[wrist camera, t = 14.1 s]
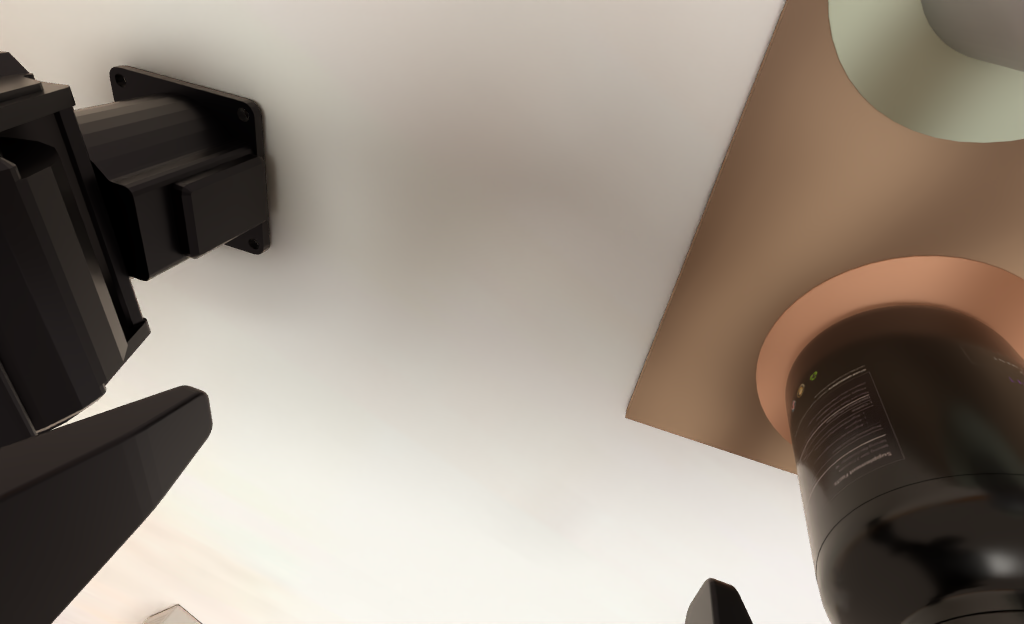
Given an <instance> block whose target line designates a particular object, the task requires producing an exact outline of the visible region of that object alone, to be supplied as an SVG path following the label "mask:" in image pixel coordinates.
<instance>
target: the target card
mask: <svg viewBox="0 0 1024 624" xmlns="http://www.w3.org/2000/svg"><path fill="white" fill-rule="evenodd" d="M898 305H923V306H932V307H939V308H944V309H949V310H952V311H956V312H959V313H962V314H964V315H967V316H969V317H972V318H974V319H976V320H978V321H980V322H982V323H984V324H986V325H987V326H989V327H990V328H992V329H993V330H994V331H996V332H997V333H998V334H999V335H1001V336H1002V337H1003V338H1004V339H1005V340H1006V341H1007V342H1008V343H1009V344H1010V345H1011V346H1012V347H1013V348H1014V349H1015V350H1016V352H1017V353H1018V354H1019V355H1020V356H1021V357H1022V358H1023V359H1024V72H1021V71H1018V70H1014V69H1010V68H1007V67H1003V66H999V65H996V64H992V63H989V62H985V61H981V60H978V59H974V58H971V57H968V56H965V55H963V54H961V53H959V52H957V51H955V50H954V49H952V48H951V47H949V46H948V45H946V44H945V43H944V42H943V41H942V40H941V39H940V38H939V37H938V36H937V35H936V33H935V32H934V31H933V29H932V28H931V26H930V25H929V23H928V20H927V18H926V16H925V14H924V11H923V7H922V3H921V0H786V3H785V5H784V8H783V10H782V13H781V15H780V18H779V20H778V23H777V26H776V28H775V31H774V33H773V36H772V38H771V41H770V44H769V46H768V49H767V51H766V54H765V56H764V59H763V62H762V64H761V67H760V69H759V72H758V74H757V77H756V79H755V82H754V85H753V87H752V90H751V92H750V95H749V97H748V100H747V103H746V105H745V108H744V110H743V113H742V115H741V118H740V120H739V123H738V126H737V128H736V131H735V133H734V136H733V138H732V141H731V144H730V146H729V149H728V151H727V154H726V156H725V159H724V162H723V164H722V167H721V169H720V172H719V174H718V177H717V179H716V182H715V185H714V187H713V190H712V192H711V195H710V197H709V200H708V203H707V205H706V208H705V210H704V213H703V215H702V218H701V220H700V223H699V226H698V228H697V231H696V233H695V236H694V238H693V241H692V244H691V246H690V249H689V251H688V254H687V256H686V259H685V262H684V264H683V267H682V269H681V272H680V274H679V277H678V279H677V282H676V285H675V287H674V290H673V292H672V295H671V297H670V300H669V303H668V305H667V308H666V310H665V313H664V315H663V318H662V320H661V323H660V326H659V328H658V331H657V333H656V336H655V338H654V341H653V344H652V346H651V349H650V351H649V354H648V356H647V359H646V362H645V364H644V367H643V369H642V372H641V374H640V377H639V379H638V382H637V385H636V387H635V390H634V392H633V395H632V397H631V400H630V403H629V405H628V408H627V410H626V416H625V418H628V419H631V420H634V421H637V422H640V423H643V424H646V425H649V426H652V427H655V428H658V429H661V430H664V431H667V432H670V433H673V434H676V435H679V436H682V437H685V438H688V439H691V440H694V441H697V442H700V443H703V444H706V445H709V446H712V447H715V448H718V449H721V450H724V451H727V452H730V453H733V454H736V455H739V456H742V457H745V458H748V459H751V460H754V461H757V462H760V463H764V464H767V465H770V466H773V467H776V468H779V469H782V470H785V471H788V472H791V473H794V474H797V469H796V463H795V457H794V452H793V446H792V441H791V435H790V430H789V424H788V417H787V410H786V401H785V389H786V383H787V378H788V375H789V372H790V370H791V368H792V365H793V363H794V361H795V360H796V358H797V356H798V355H799V354H800V352H801V351H802V350H803V349H804V347H805V346H806V345H807V344H808V343H809V342H810V341H811V340H812V339H814V338H815V337H816V336H817V335H818V334H820V333H821V332H822V331H824V330H825V329H827V328H828V327H830V326H832V325H833V324H835V323H837V322H839V321H841V320H843V319H845V318H847V317H850V316H852V315H855V314H858V313H861V312H864V311H868V310H872V309H876V308H882V307H888V306H898ZM797 475H798V474H797Z"/></svg>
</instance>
